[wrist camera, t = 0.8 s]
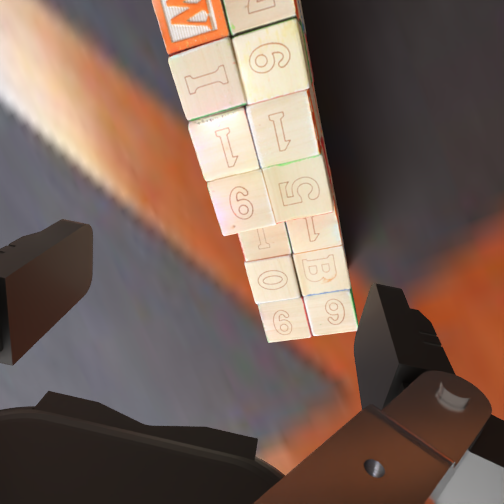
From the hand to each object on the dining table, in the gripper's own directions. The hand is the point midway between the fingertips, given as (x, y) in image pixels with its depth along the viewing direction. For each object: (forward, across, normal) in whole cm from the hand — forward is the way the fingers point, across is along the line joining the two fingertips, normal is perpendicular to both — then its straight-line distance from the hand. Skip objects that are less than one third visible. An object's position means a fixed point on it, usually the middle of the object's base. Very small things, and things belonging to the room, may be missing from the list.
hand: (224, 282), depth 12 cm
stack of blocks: (+23, 0, 0) cm, 23 cm away
